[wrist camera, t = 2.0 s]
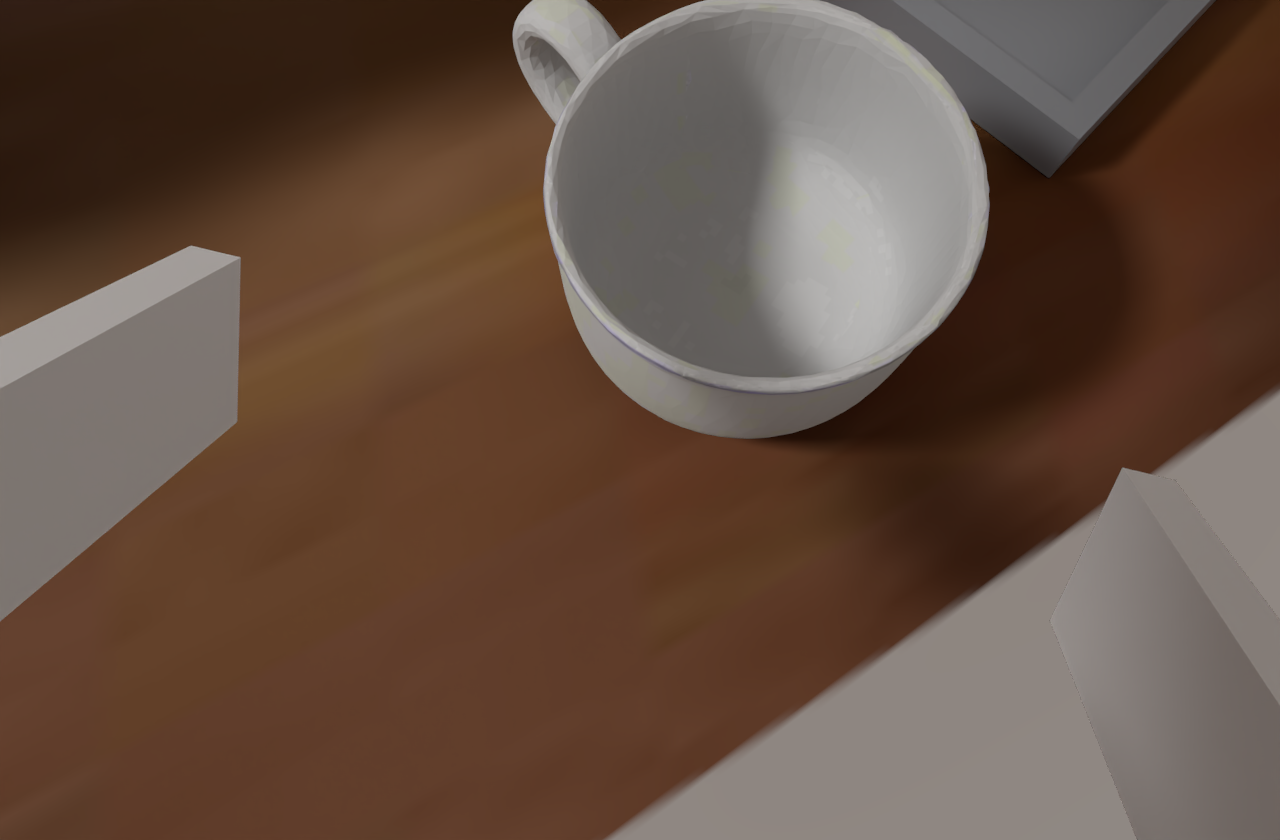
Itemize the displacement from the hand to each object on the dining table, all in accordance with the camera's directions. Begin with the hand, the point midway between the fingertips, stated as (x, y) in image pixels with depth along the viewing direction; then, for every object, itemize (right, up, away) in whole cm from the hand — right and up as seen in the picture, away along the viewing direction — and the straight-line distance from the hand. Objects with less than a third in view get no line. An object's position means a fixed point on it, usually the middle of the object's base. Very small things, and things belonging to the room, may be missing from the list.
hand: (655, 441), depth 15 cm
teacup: (+2, +5, +17) cm, 18 cm away
